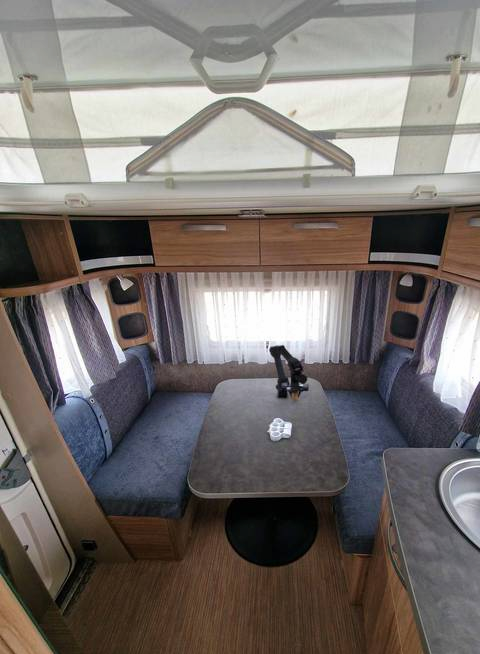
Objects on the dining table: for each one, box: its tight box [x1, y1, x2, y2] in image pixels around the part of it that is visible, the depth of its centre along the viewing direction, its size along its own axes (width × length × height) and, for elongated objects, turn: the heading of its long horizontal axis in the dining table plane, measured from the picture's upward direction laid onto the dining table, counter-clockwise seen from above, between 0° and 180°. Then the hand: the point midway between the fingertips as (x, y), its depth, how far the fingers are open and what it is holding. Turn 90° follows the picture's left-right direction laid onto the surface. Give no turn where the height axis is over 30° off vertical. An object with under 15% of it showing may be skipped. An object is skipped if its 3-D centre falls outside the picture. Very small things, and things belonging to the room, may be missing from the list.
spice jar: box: [291, 392, 299, 403], centre depth 197 cm, size 5×5×8 cm
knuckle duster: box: [266, 417, 293, 442], centre depth 175 cm, size 3×18×15 cm
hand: (294, 397), depth 198 cm, fingers closed on spice jar, 4 cm apart
